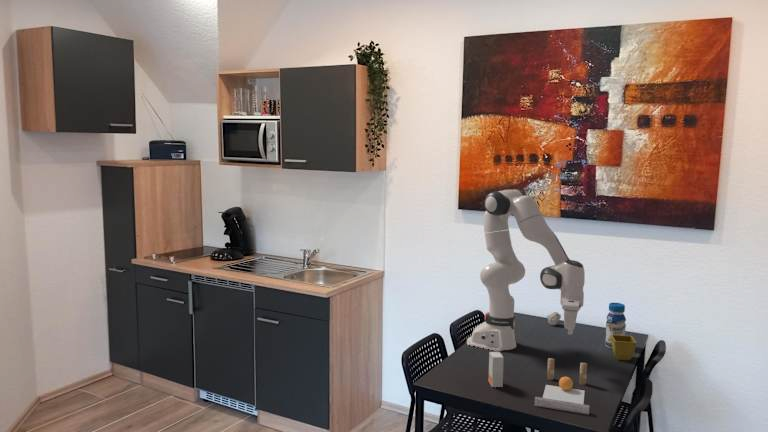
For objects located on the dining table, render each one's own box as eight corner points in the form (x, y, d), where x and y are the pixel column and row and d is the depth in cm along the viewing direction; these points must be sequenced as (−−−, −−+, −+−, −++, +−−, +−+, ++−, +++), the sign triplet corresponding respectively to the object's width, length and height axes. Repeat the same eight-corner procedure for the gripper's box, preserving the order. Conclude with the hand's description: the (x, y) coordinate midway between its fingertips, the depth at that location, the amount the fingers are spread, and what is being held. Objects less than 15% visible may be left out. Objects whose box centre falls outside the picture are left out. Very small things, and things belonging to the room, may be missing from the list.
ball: (559, 373, 216) (559, 385, 217) (558, 380, 211) (558, 392, 212) (573, 374, 214) (573, 387, 215) (572, 381, 210) (572, 393, 211)
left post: (546, 379, 223) (547, 359, 222) (547, 377, 225) (548, 357, 224) (553, 380, 222) (554, 360, 221) (553, 378, 224) (554, 358, 224)
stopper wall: (534, 405, 200) (534, 398, 199) (535, 403, 202) (535, 396, 201) (588, 414, 193) (589, 407, 193) (589, 412, 195) (589, 405, 195)
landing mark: (542, 399, 205) (542, 399, 205) (545, 385, 218) (545, 384, 218) (583, 406, 200) (583, 406, 200) (584, 391, 213) (584, 390, 213)
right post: (579, 384, 219) (580, 364, 218) (579, 382, 221) (580, 362, 220) (585, 385, 218) (587, 365, 217) (586, 383, 220) (587, 363, 219)
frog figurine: (560, 327, 290) (561, 314, 289) (546, 326, 292) (546, 313, 291) (560, 324, 296) (561, 311, 295) (546, 322, 298) (547, 309, 297)
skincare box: (488, 381, 220) (489, 351, 219) (498, 381, 221) (500, 351, 219) (491, 388, 214) (492, 357, 213) (503, 387, 215) (504, 357, 213)
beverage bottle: (621, 344, 266) (623, 302, 264) (626, 350, 258) (629, 307, 256) (602, 343, 267) (604, 301, 265) (607, 349, 259) (610, 306, 256)
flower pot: (635, 362, 242) (636, 342, 241) (613, 361, 244) (614, 340, 243) (630, 355, 251) (632, 335, 250) (609, 354, 253) (611, 334, 252)
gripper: (565, 294, 241) (563, 325, 243) (561, 306, 222) (560, 340, 224) (581, 295, 239) (579, 327, 240) (579, 307, 220) (577, 342, 221)
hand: (570, 333), depth 232 cm, fingers closed
